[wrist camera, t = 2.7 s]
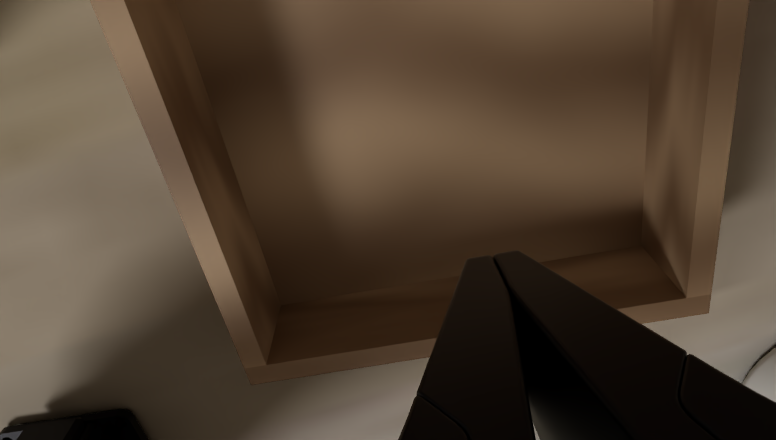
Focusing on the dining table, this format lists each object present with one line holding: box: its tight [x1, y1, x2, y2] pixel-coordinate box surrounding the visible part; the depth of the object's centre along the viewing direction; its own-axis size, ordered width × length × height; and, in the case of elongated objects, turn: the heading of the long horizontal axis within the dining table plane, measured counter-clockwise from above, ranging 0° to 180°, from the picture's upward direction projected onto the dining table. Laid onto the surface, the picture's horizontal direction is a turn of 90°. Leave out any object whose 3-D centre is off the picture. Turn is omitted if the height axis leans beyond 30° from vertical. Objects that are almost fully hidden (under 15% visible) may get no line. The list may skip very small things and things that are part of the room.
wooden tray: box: [90, 0, 749, 385], centre depth 16 cm, size 18×16×4 cm
